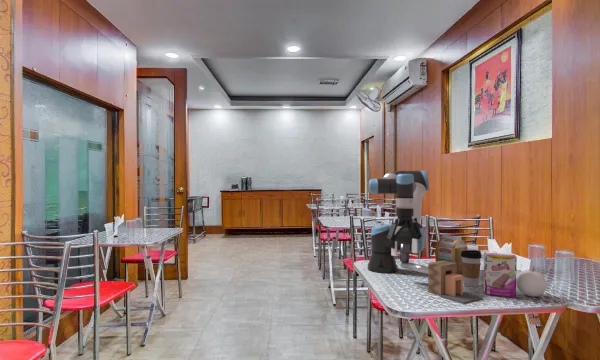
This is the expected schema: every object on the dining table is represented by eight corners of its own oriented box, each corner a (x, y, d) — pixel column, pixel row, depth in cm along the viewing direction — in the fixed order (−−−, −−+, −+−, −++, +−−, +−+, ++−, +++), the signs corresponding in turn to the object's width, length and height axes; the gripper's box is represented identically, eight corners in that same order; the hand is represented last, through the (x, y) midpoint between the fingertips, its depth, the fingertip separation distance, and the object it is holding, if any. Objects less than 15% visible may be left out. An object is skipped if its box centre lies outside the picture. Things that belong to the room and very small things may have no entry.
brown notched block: (428, 292, 149) (428, 262, 149) (443, 288, 154) (443, 260, 154) (440, 296, 144) (440, 265, 144) (456, 292, 149) (456, 263, 149)
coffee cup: (484, 288, 156) (484, 252, 156) (462, 286, 157) (463, 252, 158) (478, 283, 164) (478, 249, 164) (458, 281, 166) (458, 248, 166)
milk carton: (467, 275, 179) (467, 236, 179) (454, 277, 173) (454, 237, 173) (448, 270, 188) (448, 233, 188) (435, 273, 182) (435, 235, 182)
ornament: (547, 301, 138) (547, 269, 138) (515, 297, 144) (515, 266, 144) (546, 294, 147) (546, 265, 147) (516, 290, 152) (516, 262, 152)
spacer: (445, 294, 144) (445, 275, 145) (453, 291, 147) (453, 273, 148) (453, 296, 141) (454, 277, 141) (462, 294, 144) (462, 275, 144)
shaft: (398, 267, 166) (398, 243, 167) (404, 266, 169) (404, 242, 169) (437, 277, 149) (437, 250, 149) (443, 276, 151) (443, 249, 151)
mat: (440, 296, 143) (440, 295, 143) (459, 292, 149) (459, 290, 149) (463, 304, 134) (463, 302, 134) (482, 298, 140) (482, 297, 140)
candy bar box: (485, 295, 145) (485, 254, 146) (483, 292, 150) (483, 252, 150) (517, 298, 142) (517, 256, 142) (514, 294, 146) (514, 253, 147)
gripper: (391, 208, 157) (391, 258, 156) (429, 207, 170) (429, 253, 169) (379, 207, 163) (378, 255, 163) (416, 206, 176) (416, 250, 176)
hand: (404, 254), depth 166 cm, fingers open, 13 cm apart
